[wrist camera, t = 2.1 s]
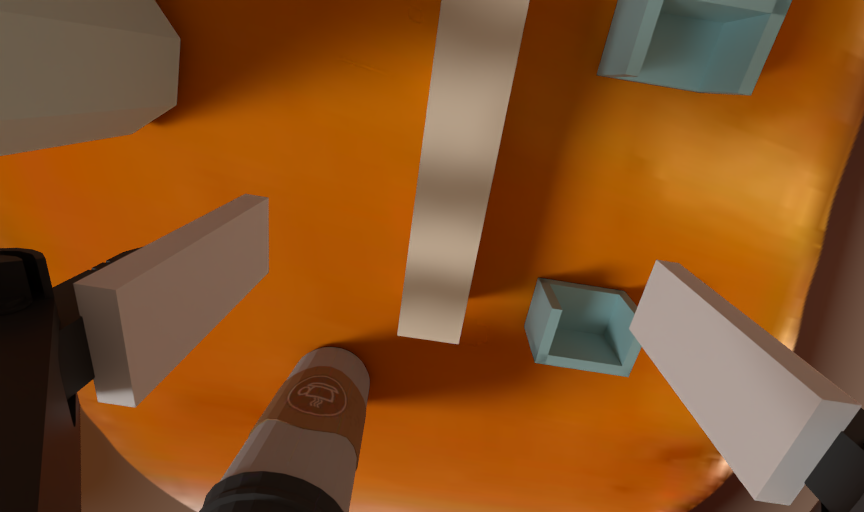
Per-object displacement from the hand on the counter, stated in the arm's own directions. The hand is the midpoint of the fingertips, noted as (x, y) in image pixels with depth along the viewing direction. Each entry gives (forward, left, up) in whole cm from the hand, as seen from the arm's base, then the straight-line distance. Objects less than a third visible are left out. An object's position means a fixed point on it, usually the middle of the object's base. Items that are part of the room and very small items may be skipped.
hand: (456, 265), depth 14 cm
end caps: (0, +11, -15) cm, 19 cm away
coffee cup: (+19, -7, -15) cm, 25 cm away
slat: (0, 0, -15) cm, 15 cm away
